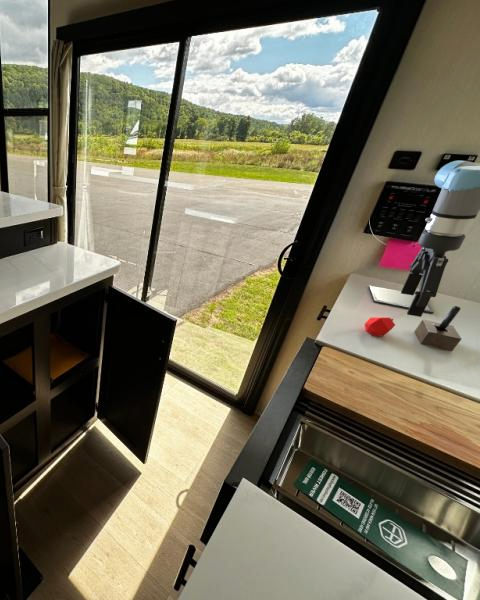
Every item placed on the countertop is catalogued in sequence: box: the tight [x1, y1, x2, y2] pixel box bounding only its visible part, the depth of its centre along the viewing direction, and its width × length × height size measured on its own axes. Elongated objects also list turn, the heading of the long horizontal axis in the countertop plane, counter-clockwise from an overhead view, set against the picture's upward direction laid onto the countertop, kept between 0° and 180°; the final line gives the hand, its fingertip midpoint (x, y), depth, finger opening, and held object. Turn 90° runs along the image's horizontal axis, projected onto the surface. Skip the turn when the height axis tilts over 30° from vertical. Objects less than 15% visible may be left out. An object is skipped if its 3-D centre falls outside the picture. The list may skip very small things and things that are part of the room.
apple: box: [364, 316, 396, 337], centre depth 105 cm, size 7×7×8 cm
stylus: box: [437, 305, 461, 331], centre depth 99 cm, size 2×2×14 cm
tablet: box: [368, 285, 435, 315], centre depth 123 cm, size 17×13×1 cm
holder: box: [414, 319, 462, 352], centre depth 101 cm, size 7×7×5 cm
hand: (410, 304), depth 91 cm, fingers open, 13 cm apart
